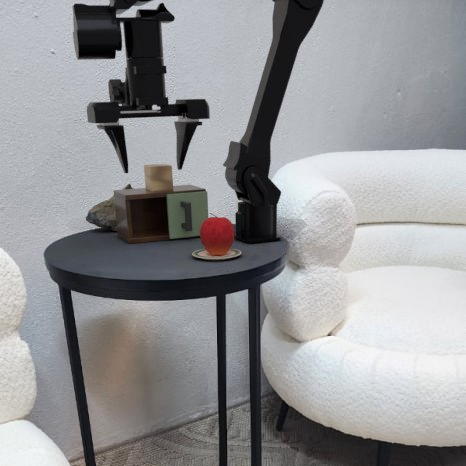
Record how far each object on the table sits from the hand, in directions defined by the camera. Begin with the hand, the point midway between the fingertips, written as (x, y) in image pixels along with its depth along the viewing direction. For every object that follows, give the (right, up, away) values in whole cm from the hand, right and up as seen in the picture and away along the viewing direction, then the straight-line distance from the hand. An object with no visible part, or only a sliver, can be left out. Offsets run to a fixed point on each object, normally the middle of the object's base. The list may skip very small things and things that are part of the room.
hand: (153, 171), depth 113 cm
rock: (-10, -1, +23) cm, 25 cm away
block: (0, +2, +11) cm, 11 cm away
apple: (+11, -15, -1) cm, 18 cm away
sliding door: (+6, -7, +11) cm, 14 cm away
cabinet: (0, -5, +15) cm, 16 cm away
